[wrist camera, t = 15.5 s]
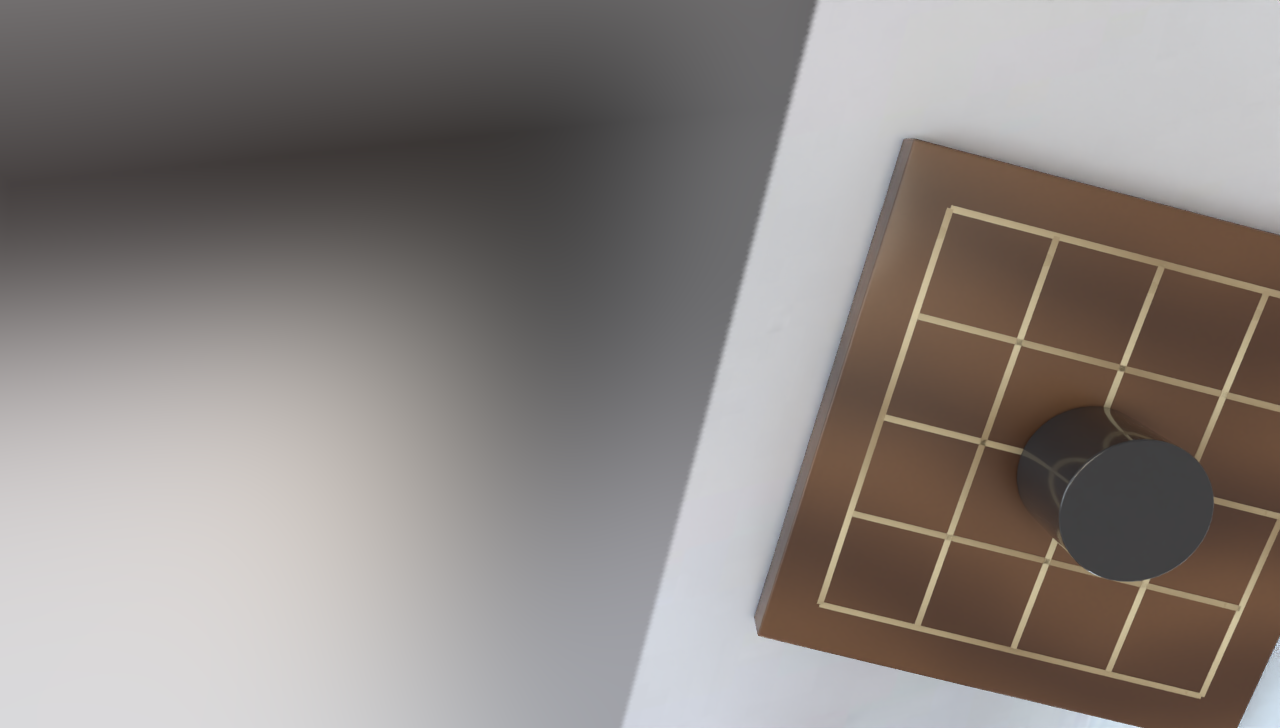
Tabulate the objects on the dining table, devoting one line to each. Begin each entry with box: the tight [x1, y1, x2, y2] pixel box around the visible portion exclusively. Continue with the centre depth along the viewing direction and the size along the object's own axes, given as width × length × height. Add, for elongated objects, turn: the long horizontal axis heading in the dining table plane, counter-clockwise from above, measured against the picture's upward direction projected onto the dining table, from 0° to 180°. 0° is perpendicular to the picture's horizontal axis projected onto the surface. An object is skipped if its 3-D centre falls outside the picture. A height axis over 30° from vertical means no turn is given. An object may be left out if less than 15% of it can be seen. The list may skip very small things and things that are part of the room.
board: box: [754, 139, 1280, 728], centre depth 37 cm, size 20×20×2 cm
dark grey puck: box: [1017, 406, 1214, 582], centre depth 34 cm, size 5×5×4 cm
